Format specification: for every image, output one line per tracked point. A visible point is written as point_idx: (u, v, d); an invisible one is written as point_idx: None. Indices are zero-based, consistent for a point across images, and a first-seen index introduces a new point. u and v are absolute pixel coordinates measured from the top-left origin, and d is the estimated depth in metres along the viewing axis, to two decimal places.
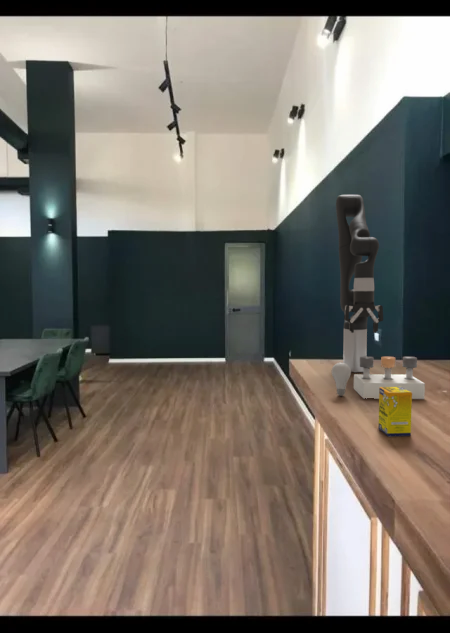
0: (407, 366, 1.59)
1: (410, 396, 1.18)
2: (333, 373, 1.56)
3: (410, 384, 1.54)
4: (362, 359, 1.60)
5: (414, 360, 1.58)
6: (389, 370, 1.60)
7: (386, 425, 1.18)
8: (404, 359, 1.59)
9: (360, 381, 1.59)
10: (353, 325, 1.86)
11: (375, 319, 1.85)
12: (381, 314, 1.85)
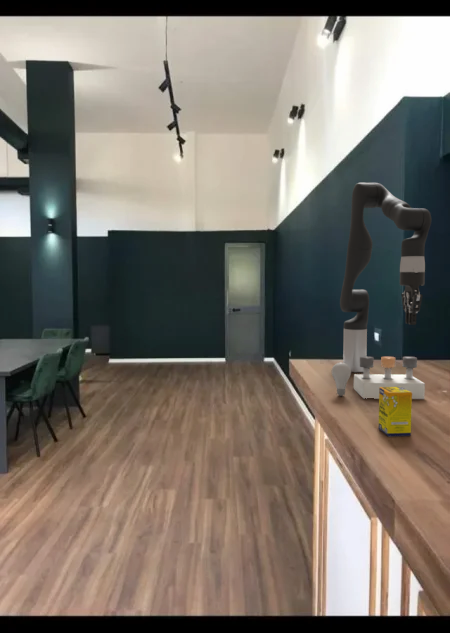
0: (407, 366, 1.59)
1: (410, 396, 1.18)
2: (333, 373, 1.56)
3: (410, 384, 1.54)
4: (362, 359, 1.60)
5: (414, 360, 1.58)
6: (389, 370, 1.60)
7: (386, 425, 1.18)
8: (404, 359, 1.59)
9: (360, 381, 1.59)
10: (415, 315, 1.58)
11: None
12: None
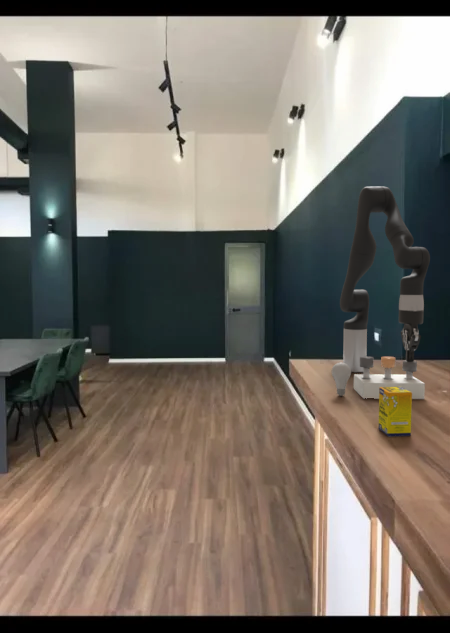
0: (407, 370, 1.59)
1: (410, 396, 1.18)
2: (333, 373, 1.56)
3: (410, 384, 1.54)
4: (362, 359, 1.60)
5: (414, 364, 1.58)
6: (389, 370, 1.60)
7: (386, 425, 1.18)
8: (404, 363, 1.59)
9: (360, 381, 1.59)
10: None
11: None
12: None
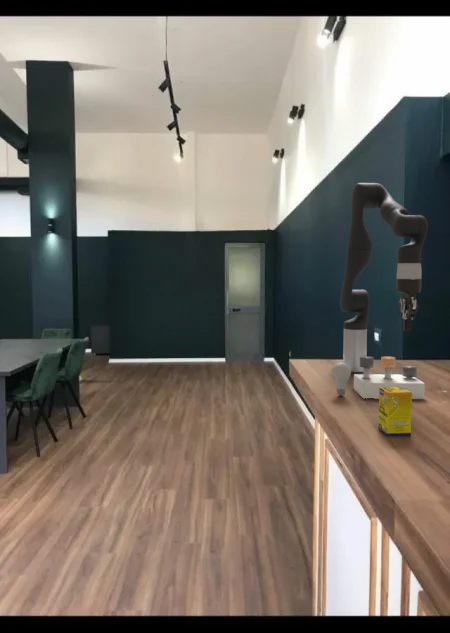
0: (407, 375, 1.59)
1: (410, 396, 1.18)
2: (333, 373, 1.56)
3: (410, 384, 1.54)
4: (362, 359, 1.60)
5: (414, 369, 1.58)
6: (389, 370, 1.60)
7: (386, 425, 1.18)
8: (404, 368, 1.60)
9: (360, 381, 1.59)
10: None
11: None
12: None
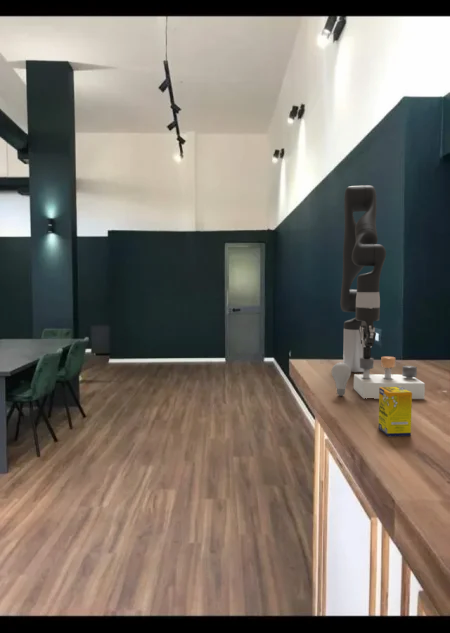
0: (407, 375, 1.59)
1: (410, 396, 1.18)
2: (333, 373, 1.56)
3: (410, 384, 1.54)
4: (362, 360, 1.60)
5: (414, 369, 1.58)
6: (389, 370, 1.60)
7: (386, 425, 1.18)
8: (404, 368, 1.60)
9: (360, 381, 1.59)
10: None
11: None
12: None
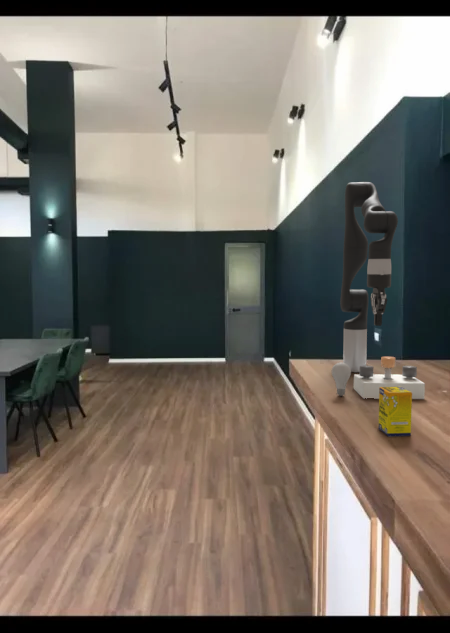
0: (407, 375, 1.59)
1: (410, 396, 1.18)
2: (333, 373, 1.56)
3: (410, 384, 1.54)
4: (362, 368, 1.60)
5: (414, 369, 1.58)
6: (389, 370, 1.60)
7: (386, 425, 1.18)
8: (404, 368, 1.60)
9: (360, 381, 1.59)
10: (381, 317, 1.62)
11: None
12: None
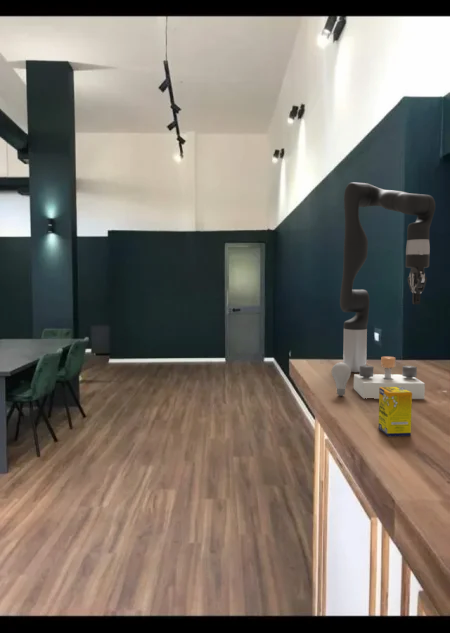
0: (407, 375, 1.59)
1: (410, 396, 1.18)
2: (333, 373, 1.56)
3: (410, 384, 1.54)
4: (362, 368, 1.60)
5: (414, 369, 1.58)
6: (389, 370, 1.60)
7: (386, 425, 1.18)
8: (404, 368, 1.60)
9: (360, 381, 1.59)
10: (419, 296, 1.68)
11: None
12: None
